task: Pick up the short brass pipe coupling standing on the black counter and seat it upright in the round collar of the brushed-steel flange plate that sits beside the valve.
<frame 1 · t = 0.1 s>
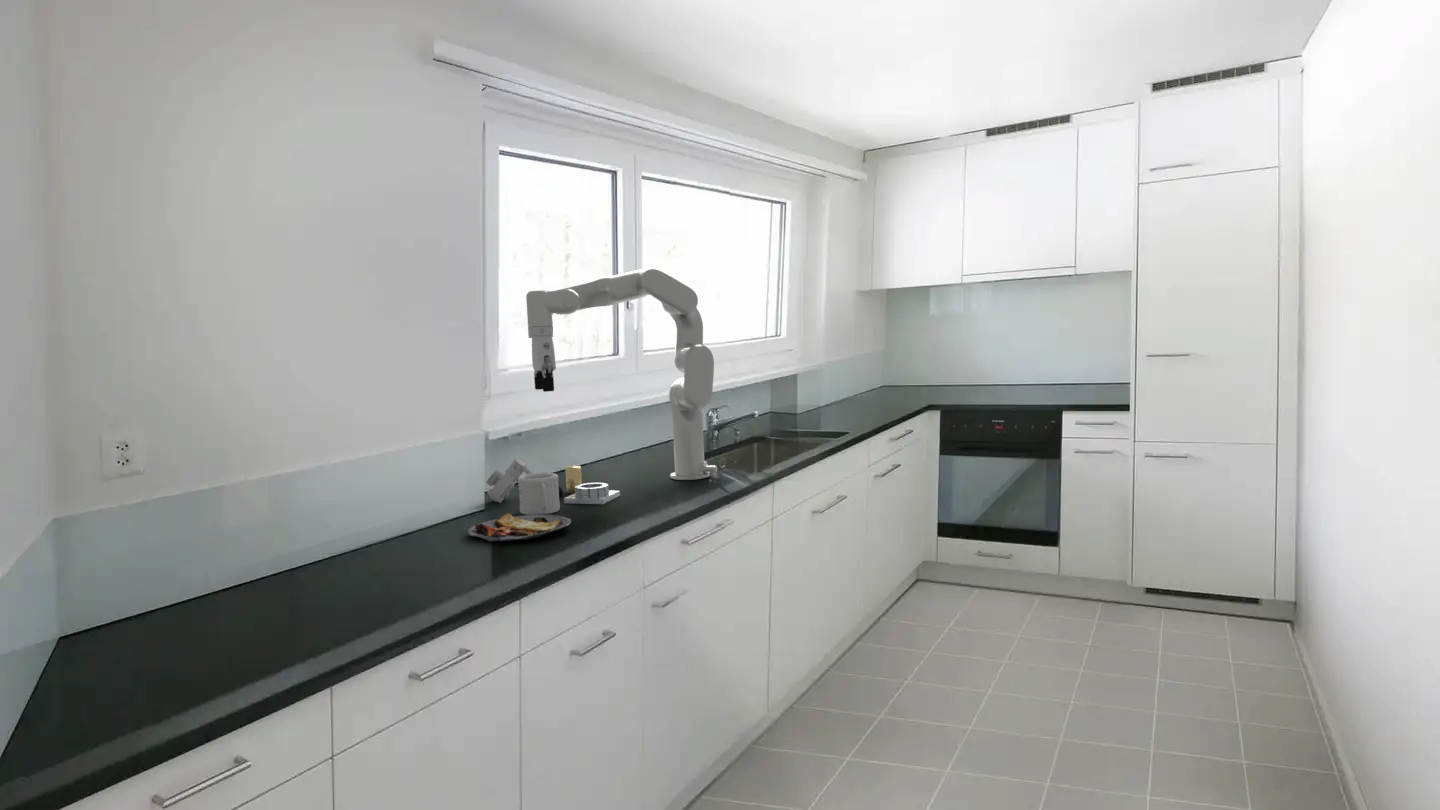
hand: (544, 390, 288), 31 cm above the countertop, tool pointing down, fingers open, 9 cm apart
coupling: (574, 491, 292), on the countertop
valve: (526, 501, 282), on the countertop
flange plate: (592, 499, 278), on the countertop
food plate: (519, 534, 240), on the countertop
mug: (541, 513, 264), on the countertop
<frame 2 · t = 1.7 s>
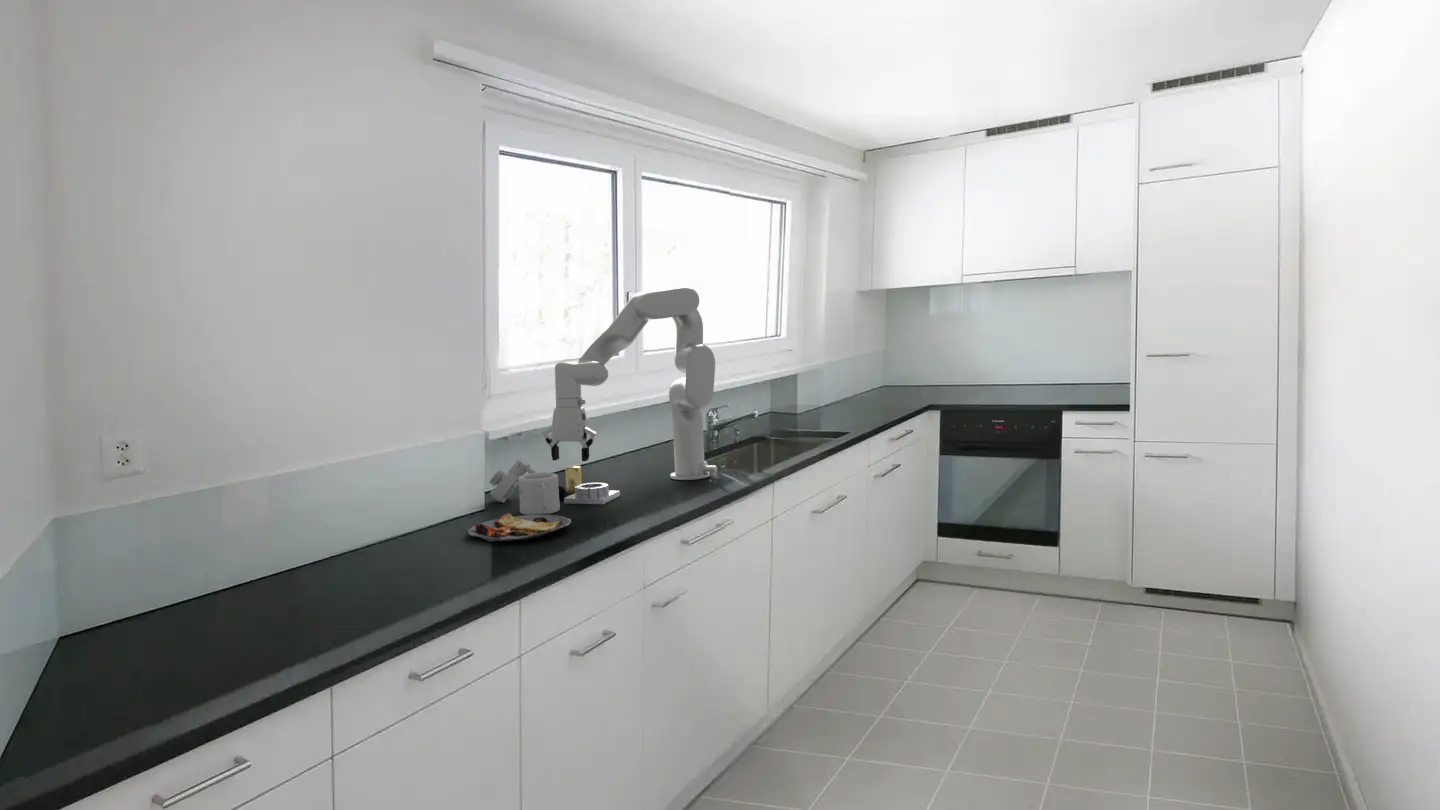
hand: (570, 460, 291), 10 cm above the countertop, tool pointing down, fingers open, 9 cm apart
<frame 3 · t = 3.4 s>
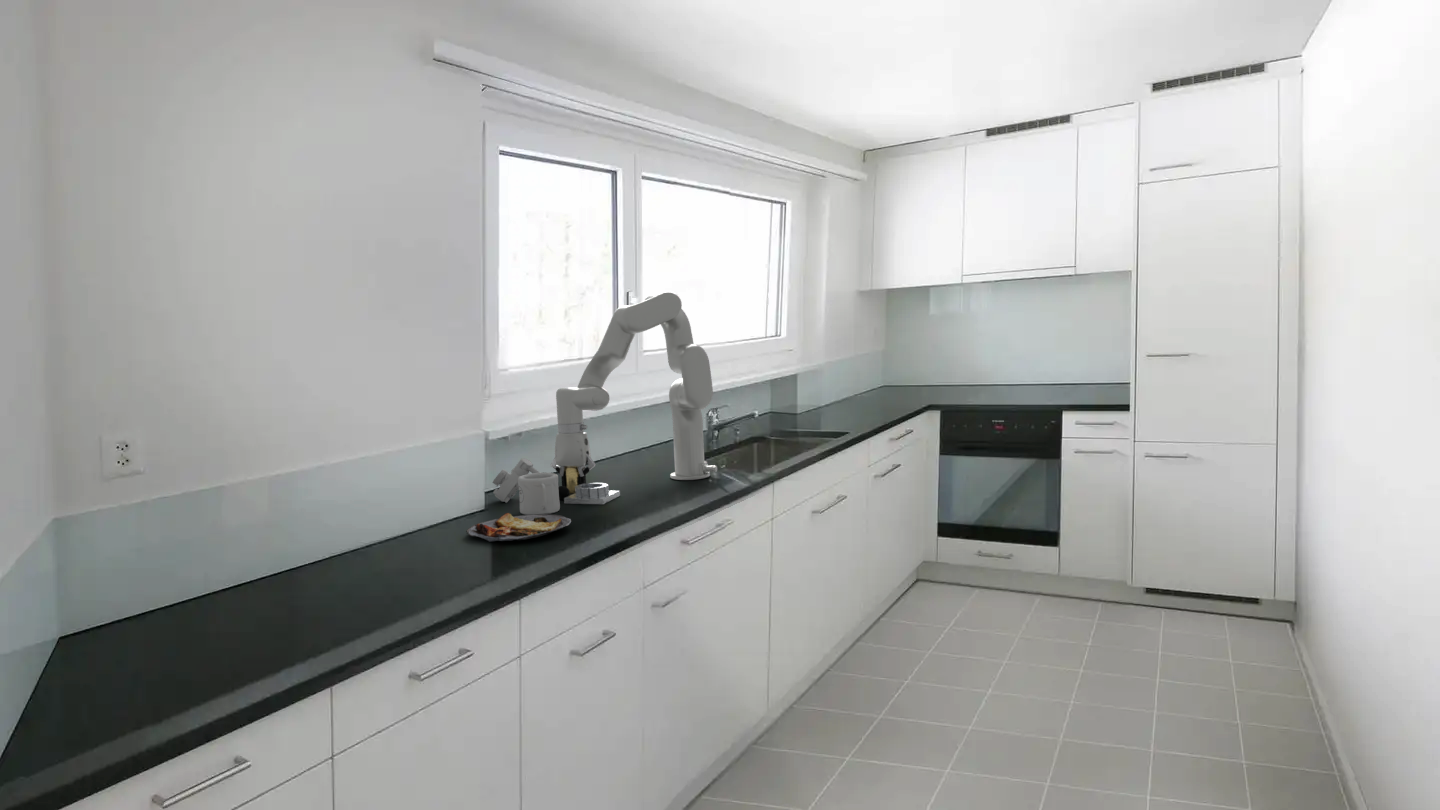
hand: (574, 488, 292), 1 cm above the countertop, tool pointing down, fingers closed on coupling, 4 cm apart
coupling: (574, 491, 292), on the countertop, touching gripper
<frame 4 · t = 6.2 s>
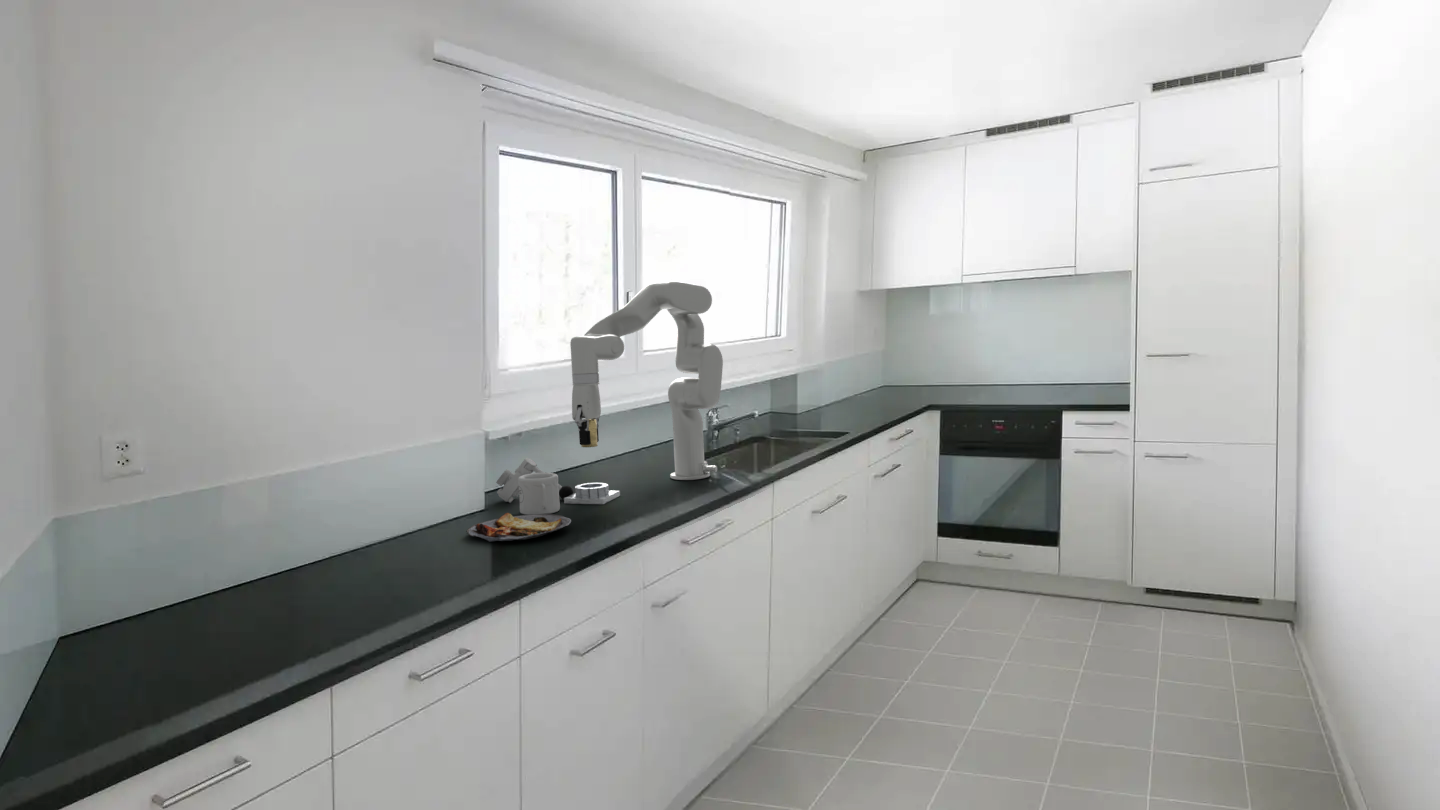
hand: (589, 442, 277), 16 cm above the countertop, tool pointing down, fingers closed on coupling, 4 cm apart
coupling: (589, 446, 277), point 15 cm above the countertop, touching gripper
valve: (536, 501, 281), on the countertop
everything else where it was.
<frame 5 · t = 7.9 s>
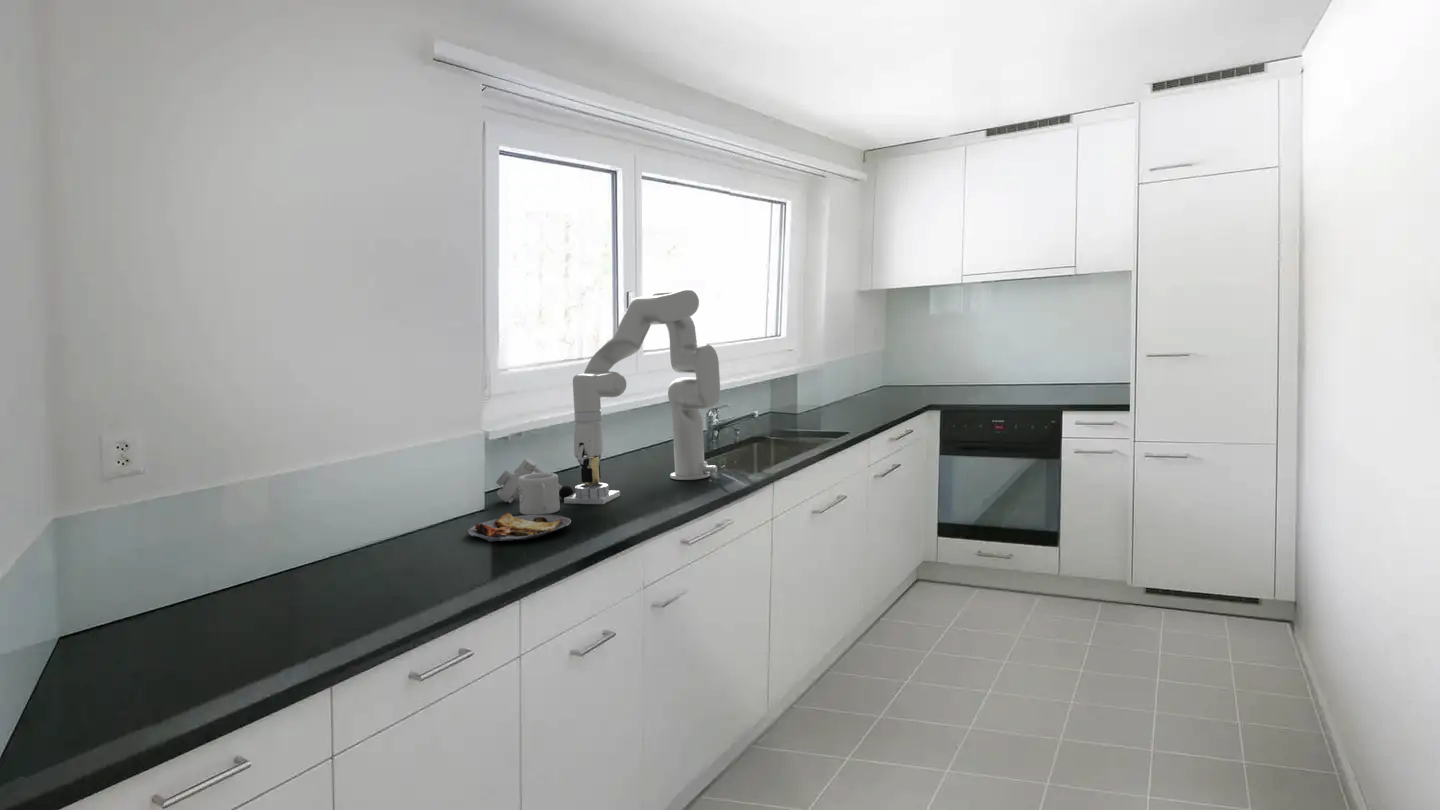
hand: (591, 479, 278), 6 cm above the countertop, tool pointing down, fingers closed on coupling, 4 cm apart
coupling: (591, 483, 278), point 5 cm above the countertop, touching gripper
everything else where it was.
when the fingers open (4 cm above the countertop, at t = 9.0 s): coupling drops 2 cm, resting on flange plate.
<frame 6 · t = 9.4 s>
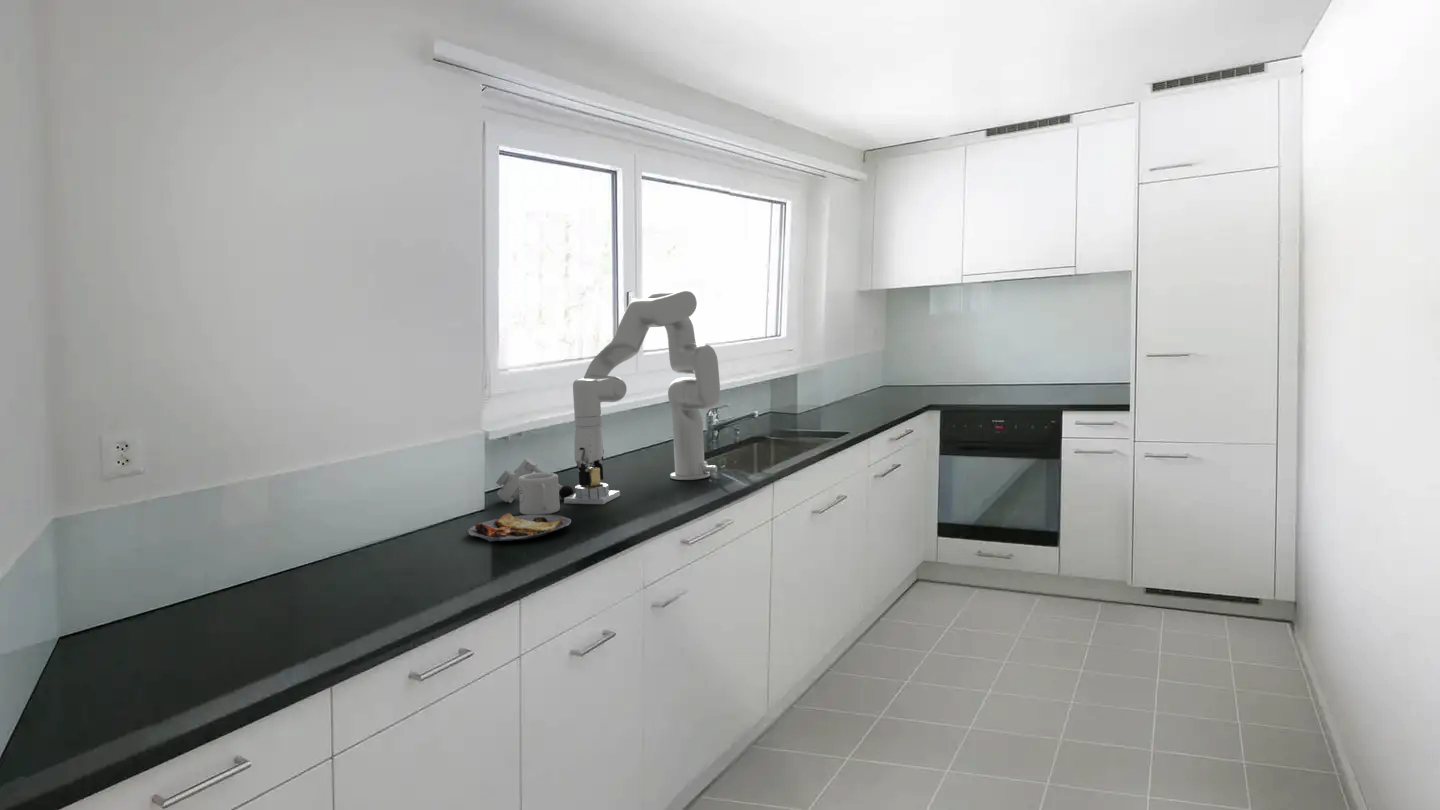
hand: (591, 482, 278), 5 cm above the countertop, tool pointing down, fingers open, 8 cm apart
coupling: (592, 494, 279), point 2 cm above the countertop, touching flange plate
everything else where it was.
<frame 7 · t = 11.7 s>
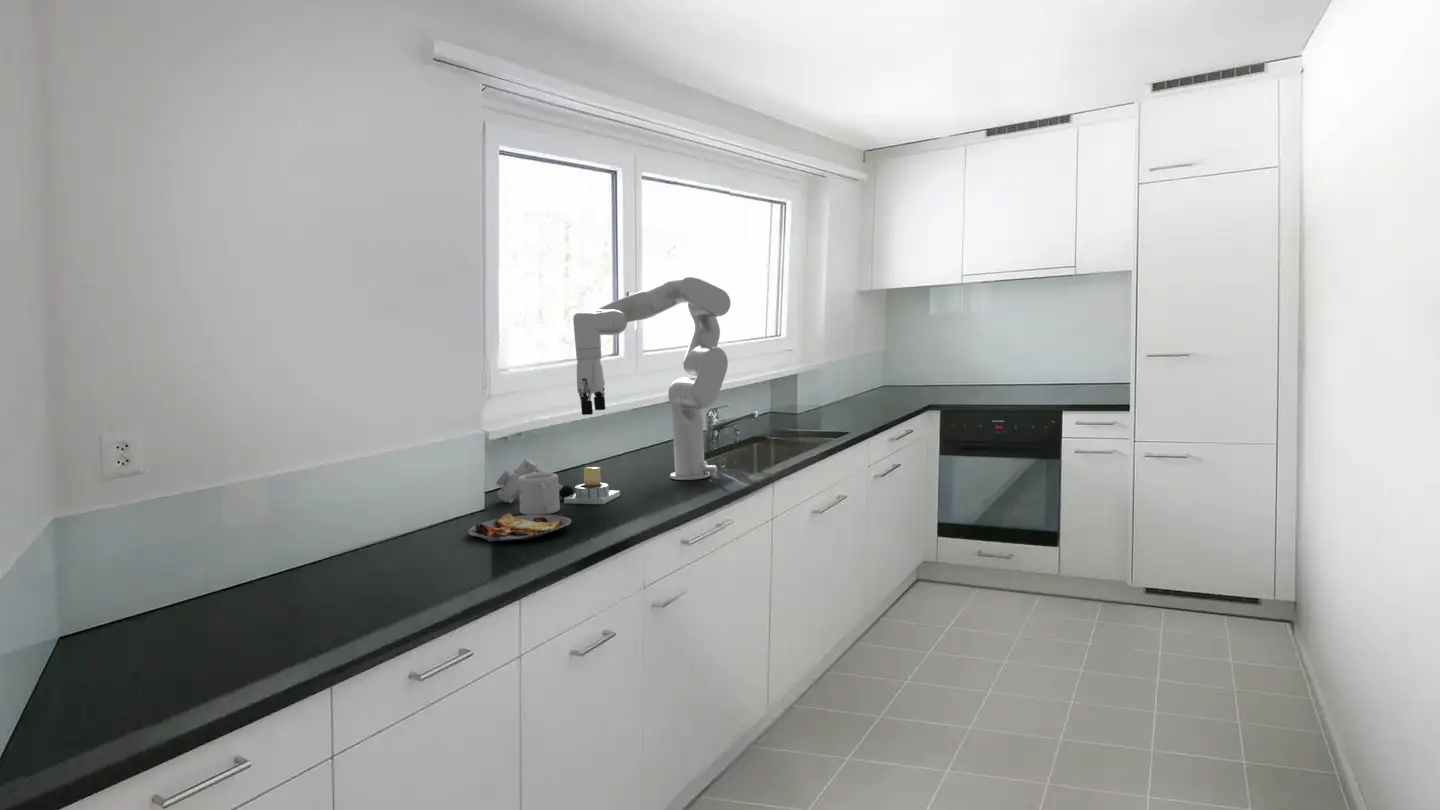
hand: (593, 412, 286), 24 cm above the countertop, tool pointing down, fingers open, 9 cm apart
nothing on the countertop moved.
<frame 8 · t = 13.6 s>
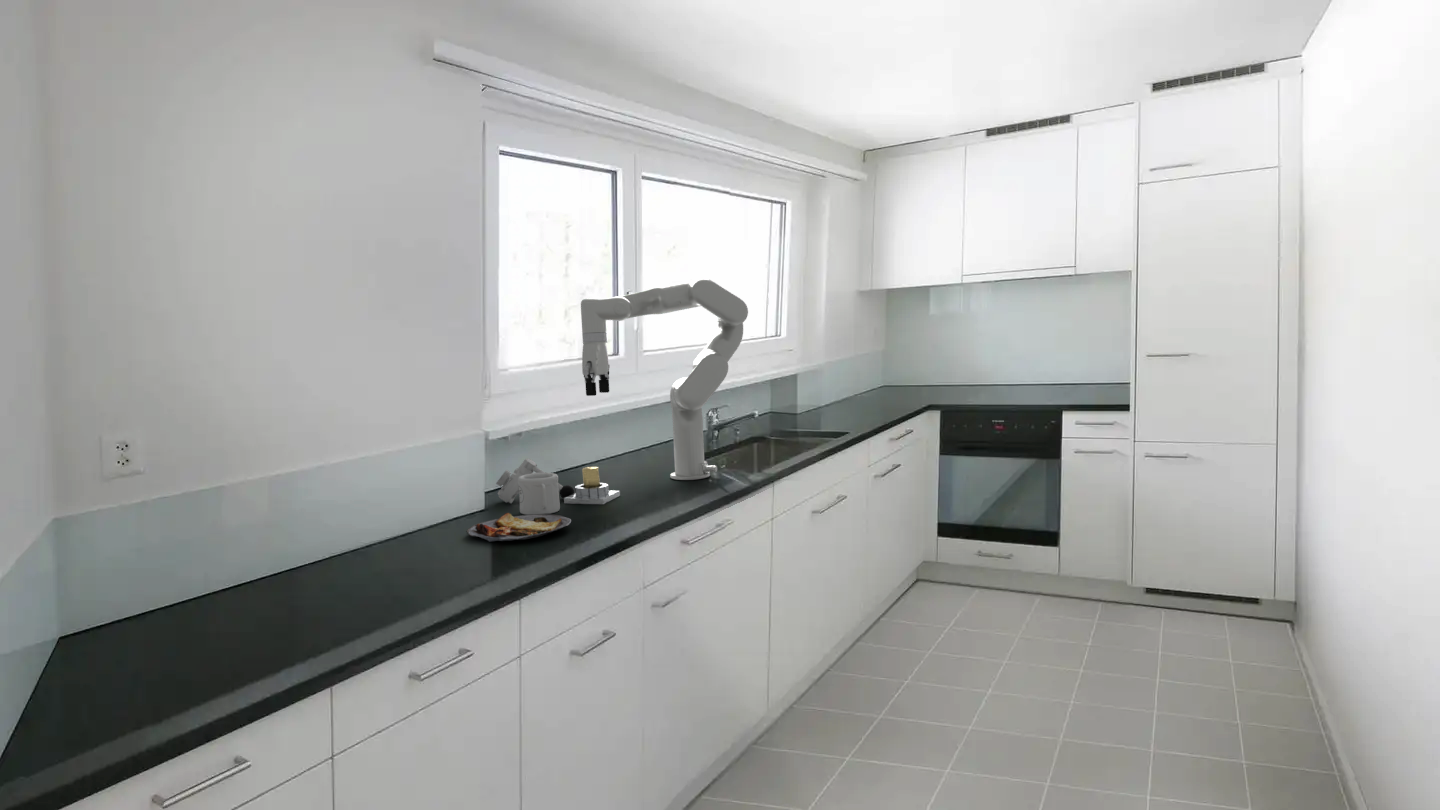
hand: (597, 393, 300), 28 cm above the countertop, tool pointing down, fingers open, 9 cm apart
nothing on the countertop moved.
at the end: coupling 0.2 cm off-centre on the flange plate, point 1.6 cm above the flange plate's base; coupling tilted 3°; the gripper is holding nothing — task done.
